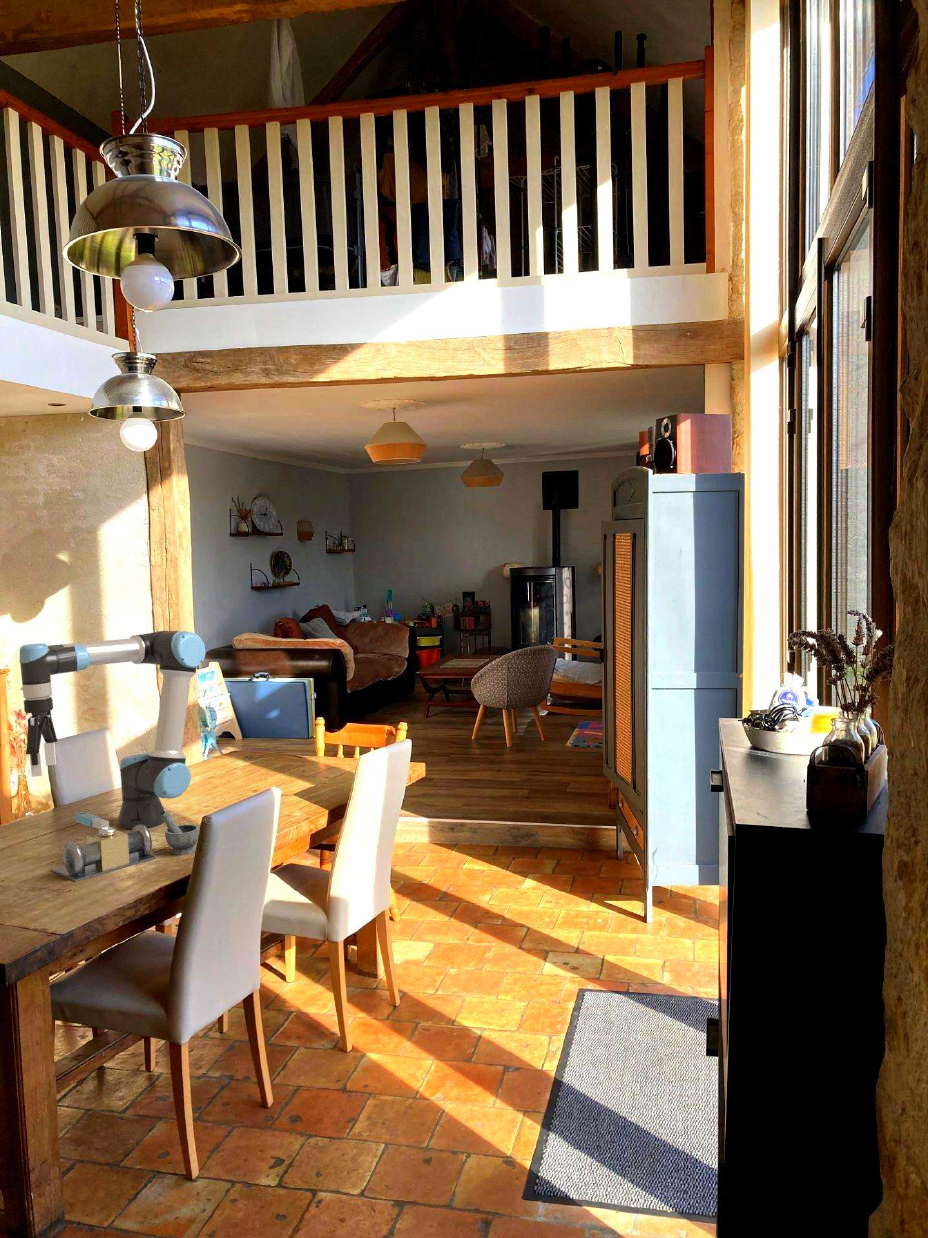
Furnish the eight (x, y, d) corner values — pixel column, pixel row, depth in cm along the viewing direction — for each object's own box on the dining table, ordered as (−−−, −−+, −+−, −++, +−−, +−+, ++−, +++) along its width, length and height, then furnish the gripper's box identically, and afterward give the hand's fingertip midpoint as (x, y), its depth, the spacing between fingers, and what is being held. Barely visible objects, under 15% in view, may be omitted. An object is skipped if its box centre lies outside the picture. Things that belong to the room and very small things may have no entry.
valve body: (130, 849, 280) (128, 818, 279) (155, 858, 270) (154, 826, 269) (51, 870, 262) (48, 837, 261) (75, 881, 252) (73, 847, 251)
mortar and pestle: (205, 847, 279) (203, 808, 278) (191, 857, 270) (189, 817, 269) (171, 846, 281) (169, 807, 280) (156, 856, 272) (153, 816, 271)
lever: (86, 822, 277) (85, 810, 276) (118, 833, 263) (117, 821, 263) (71, 826, 273) (71, 814, 273) (103, 837, 260) (103, 825, 260)
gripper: (37, 692, 277) (43, 761, 278) (9, 706, 252) (16, 782, 254) (63, 690, 278) (69, 759, 279) (38, 704, 253) (45, 779, 255)
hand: (44, 770), depth 267 cm, fingers open, 13 cm apart
